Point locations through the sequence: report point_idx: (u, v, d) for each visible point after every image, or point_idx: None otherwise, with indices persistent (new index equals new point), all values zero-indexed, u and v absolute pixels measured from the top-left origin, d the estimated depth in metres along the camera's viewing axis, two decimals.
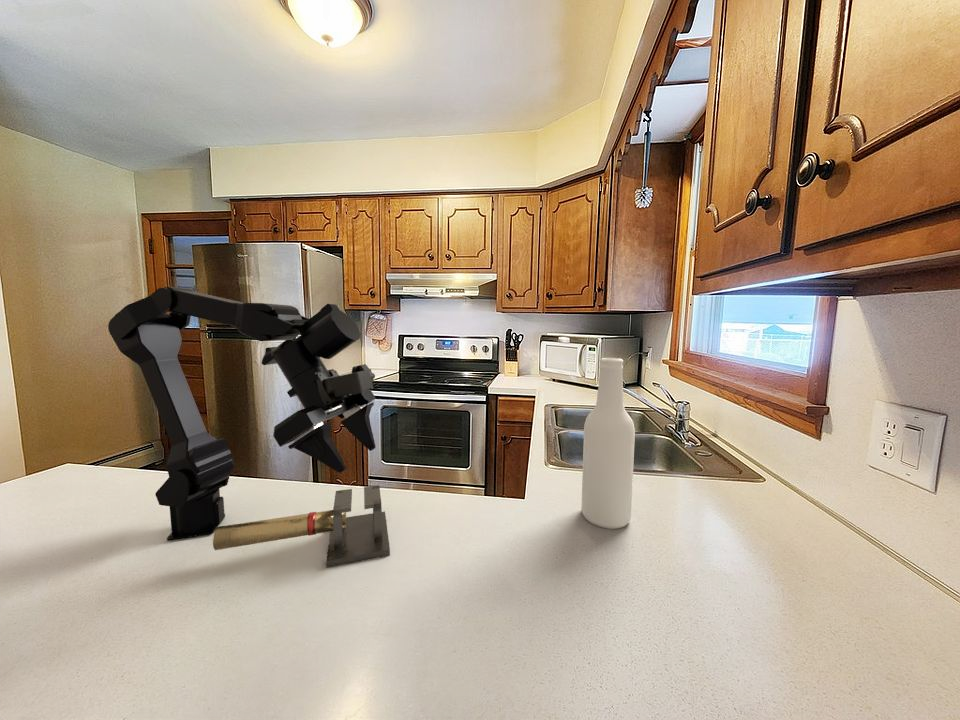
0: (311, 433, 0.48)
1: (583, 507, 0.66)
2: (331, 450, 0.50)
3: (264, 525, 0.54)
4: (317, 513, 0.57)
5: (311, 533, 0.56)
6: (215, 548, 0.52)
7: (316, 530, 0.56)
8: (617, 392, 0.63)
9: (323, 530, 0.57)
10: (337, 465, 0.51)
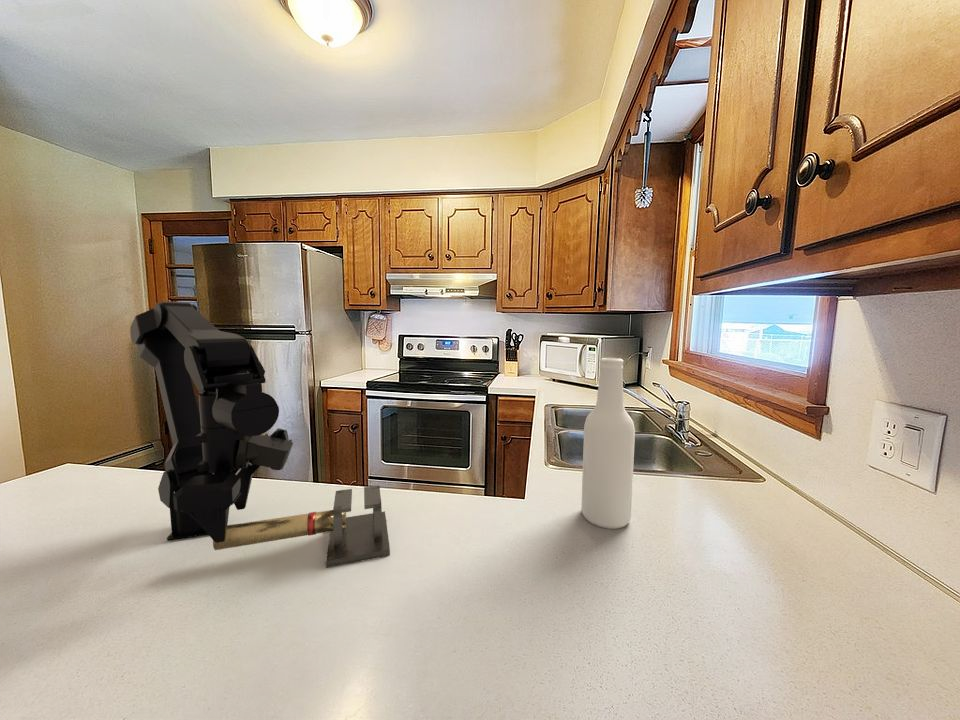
0: (221, 506, 0.46)
1: (583, 507, 0.66)
2: (224, 521, 0.48)
3: (264, 525, 0.54)
4: (317, 513, 0.57)
5: (311, 533, 0.56)
6: (215, 548, 0.52)
7: (316, 530, 0.56)
8: (617, 392, 0.63)
9: (323, 530, 0.57)
10: (219, 535, 0.49)
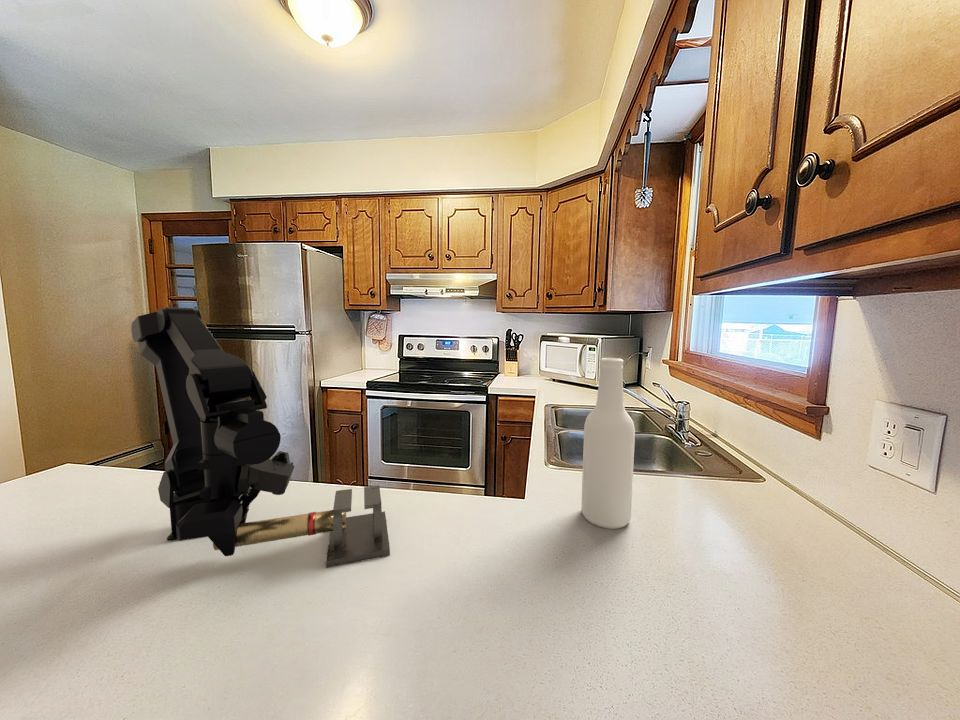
0: None
1: (583, 507, 0.66)
2: (233, 536, 0.51)
3: (264, 525, 0.54)
4: (317, 513, 0.57)
5: (311, 533, 0.56)
6: (215, 548, 0.52)
7: (316, 530, 0.56)
8: (617, 392, 0.63)
9: (323, 530, 0.57)
10: (228, 550, 0.52)
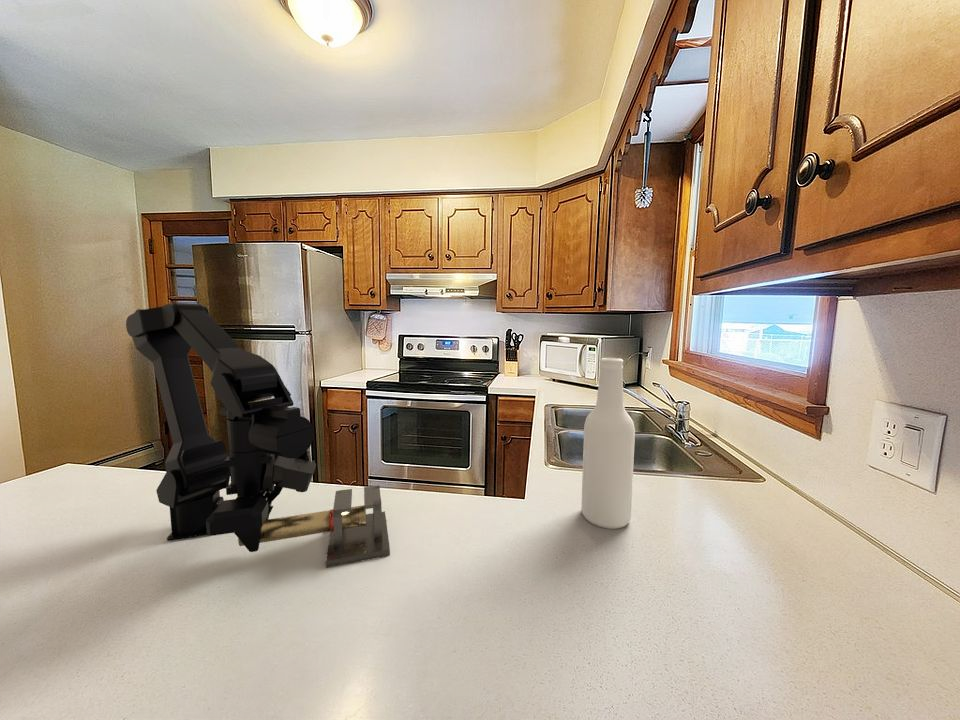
0: None
1: (583, 507, 0.66)
2: (258, 532, 0.52)
3: (287, 521, 0.55)
4: None
5: (333, 529, 0.57)
6: (240, 544, 0.53)
7: None
8: (617, 392, 0.63)
9: (344, 526, 0.58)
10: (253, 546, 0.53)
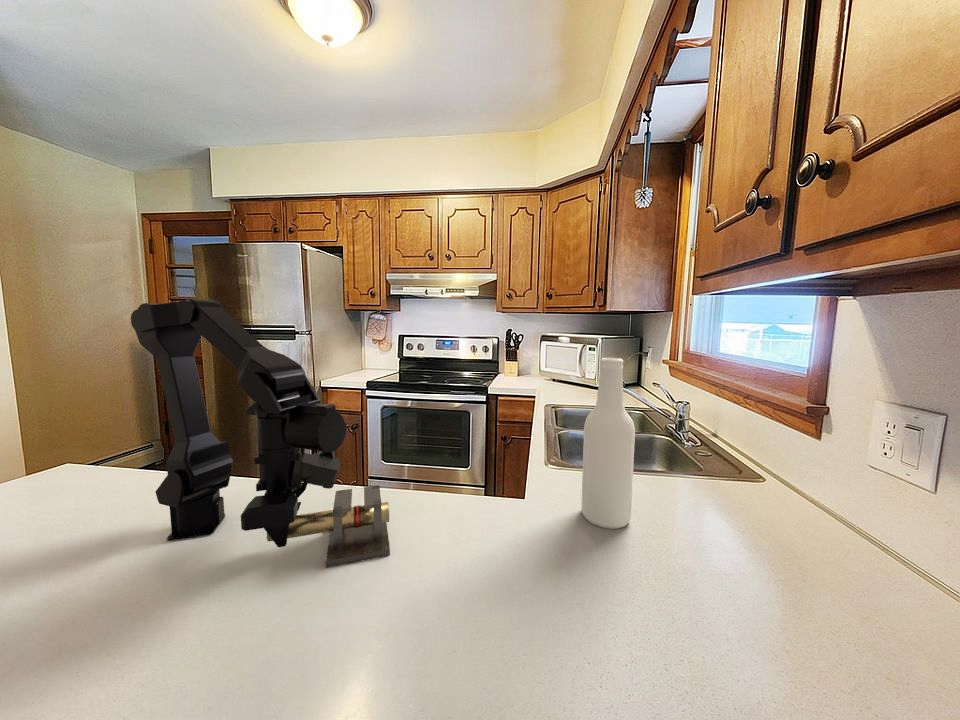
0: None
1: (583, 507, 0.66)
2: (287, 528, 0.54)
3: (314, 517, 0.57)
4: (362, 507, 0.59)
5: (357, 525, 0.58)
6: (268, 539, 0.54)
7: (362, 523, 0.58)
8: (617, 392, 0.63)
9: (368, 522, 0.59)
10: (281, 541, 0.54)
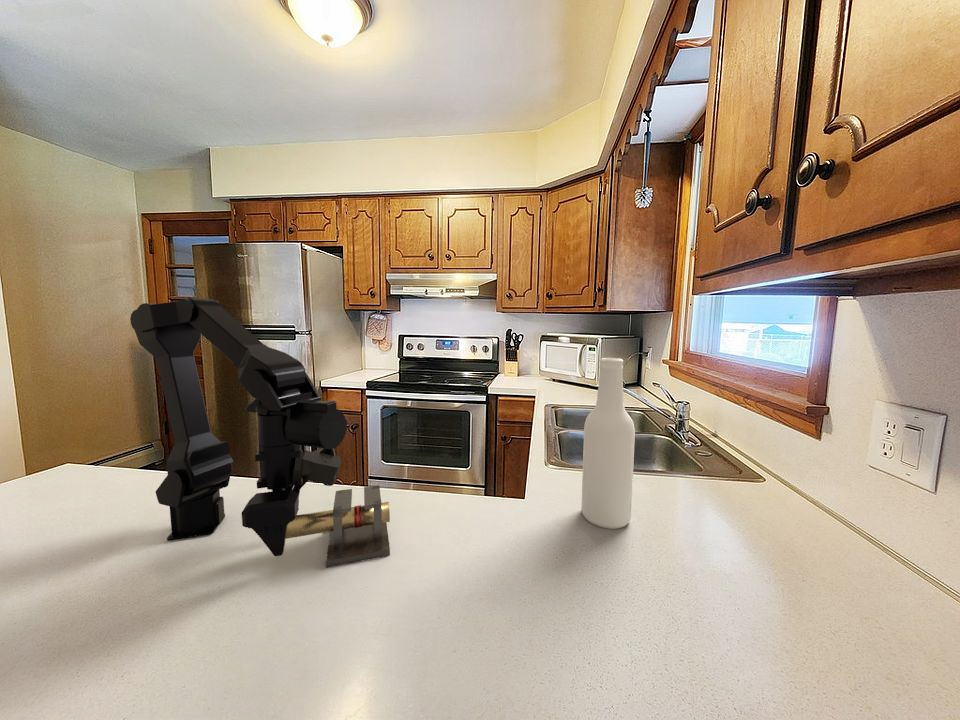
0: (283, 522, 0.48)
1: (583, 507, 0.66)
2: (284, 536, 0.51)
3: (314, 517, 0.57)
4: (362, 507, 0.60)
5: (358, 525, 0.58)
6: None
7: (362, 523, 0.58)
8: (617, 392, 0.63)
9: (369, 522, 0.59)
10: (278, 549, 0.51)
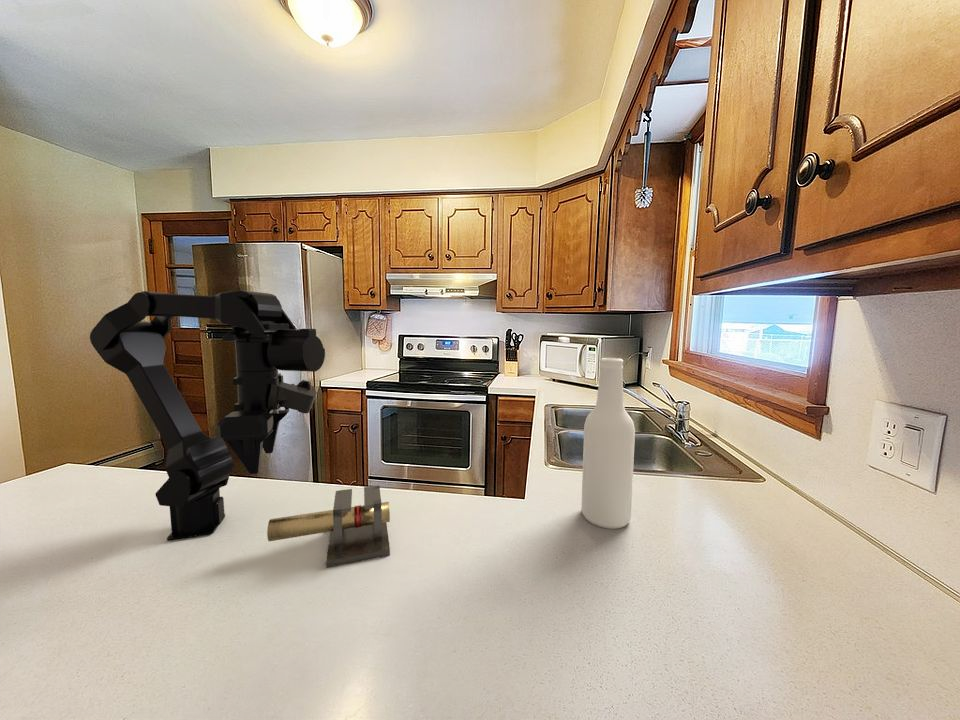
0: (257, 437, 0.52)
1: (583, 507, 0.66)
2: (258, 454, 0.54)
3: (314, 517, 0.57)
4: (362, 507, 0.60)
5: (358, 525, 0.58)
6: (269, 539, 0.54)
7: (362, 523, 0.58)
8: (617, 392, 0.63)
9: (369, 522, 0.59)
10: (253, 467, 0.55)
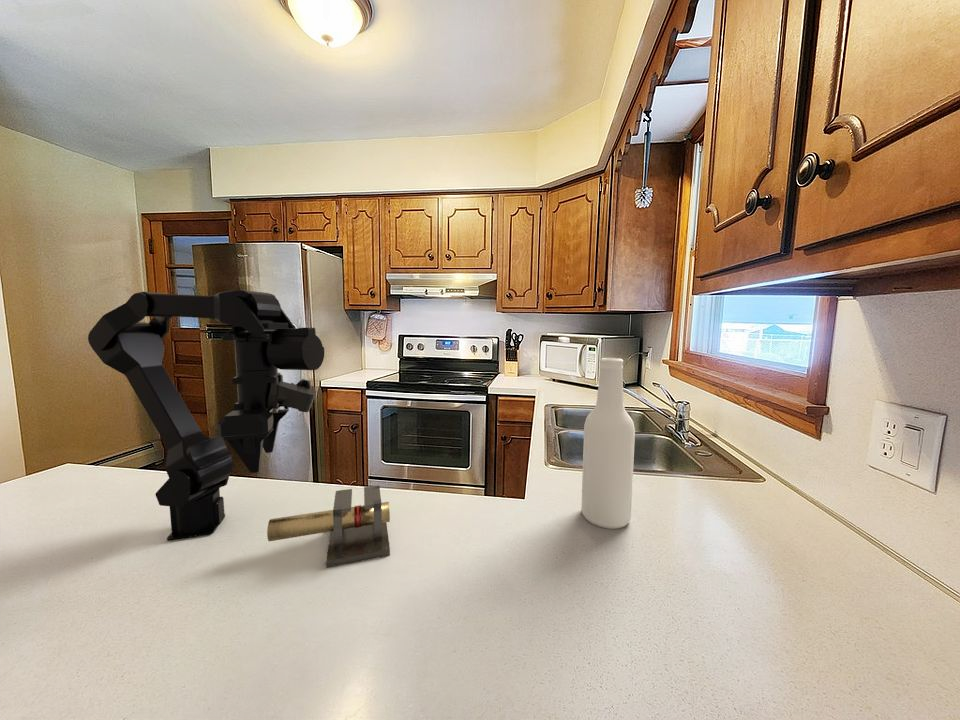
0: (257, 436, 0.52)
1: (583, 507, 0.66)
2: (259, 453, 0.54)
3: (314, 517, 0.57)
4: (362, 507, 0.60)
5: (358, 525, 0.58)
6: (269, 539, 0.54)
7: (362, 523, 0.58)
8: (617, 392, 0.63)
9: (369, 522, 0.59)
10: (254, 466, 0.55)
